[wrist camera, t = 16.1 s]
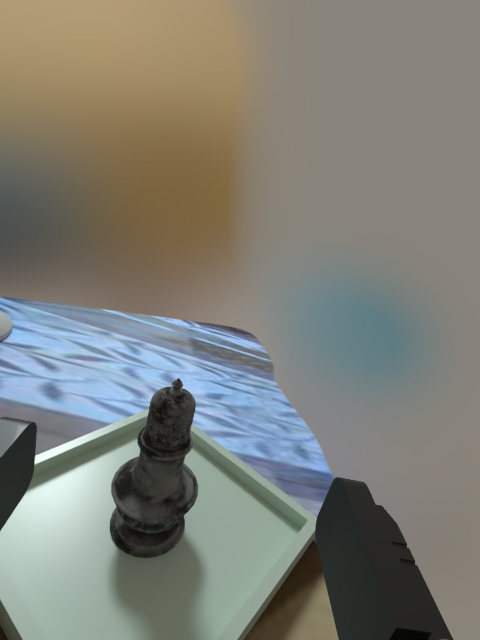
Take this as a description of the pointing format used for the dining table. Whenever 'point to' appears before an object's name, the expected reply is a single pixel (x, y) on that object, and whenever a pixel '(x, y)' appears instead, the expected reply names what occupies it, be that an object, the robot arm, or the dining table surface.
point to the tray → (135, 572)
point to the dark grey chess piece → (156, 479)
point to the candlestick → (5, 326)
